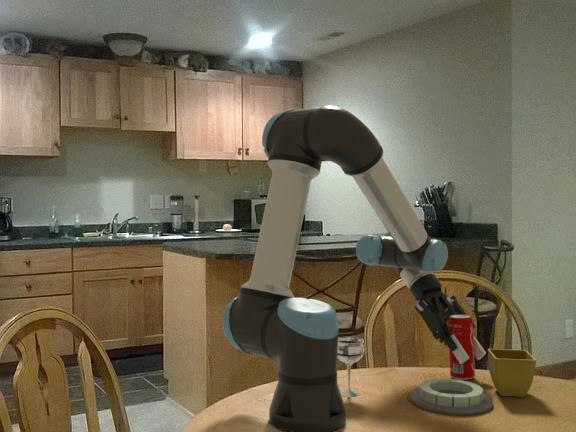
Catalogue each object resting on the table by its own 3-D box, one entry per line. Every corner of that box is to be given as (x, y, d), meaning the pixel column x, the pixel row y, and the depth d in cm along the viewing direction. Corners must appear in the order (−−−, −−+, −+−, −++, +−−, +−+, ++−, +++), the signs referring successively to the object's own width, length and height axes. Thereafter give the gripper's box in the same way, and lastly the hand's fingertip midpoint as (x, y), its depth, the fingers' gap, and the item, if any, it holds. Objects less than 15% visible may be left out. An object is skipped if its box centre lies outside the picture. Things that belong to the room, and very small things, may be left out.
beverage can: (475, 381, 157) (477, 318, 157) (447, 379, 159) (449, 317, 158) (473, 374, 163) (475, 314, 163) (446, 372, 165) (448, 312, 164)
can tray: (423, 416, 134) (423, 401, 134) (402, 389, 151) (402, 376, 151) (505, 414, 136) (505, 399, 135) (475, 388, 153) (475, 375, 152)
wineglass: (369, 396, 147) (370, 342, 146) (341, 399, 144) (342, 344, 144) (355, 387, 153) (355, 335, 153) (328, 390, 151) (328, 338, 150)
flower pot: (525, 388, 153) (526, 349, 152) (536, 400, 144) (537, 359, 144) (486, 387, 154) (487, 348, 153) (494, 399, 145) (495, 358, 144)
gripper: (437, 287, 178) (488, 361, 166) (387, 294, 166) (438, 374, 154) (453, 269, 173) (507, 344, 161) (404, 275, 162) (457, 356, 150)
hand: (473, 358), depth 158 cm, fingers closed on beverage can, 6 cm apart
